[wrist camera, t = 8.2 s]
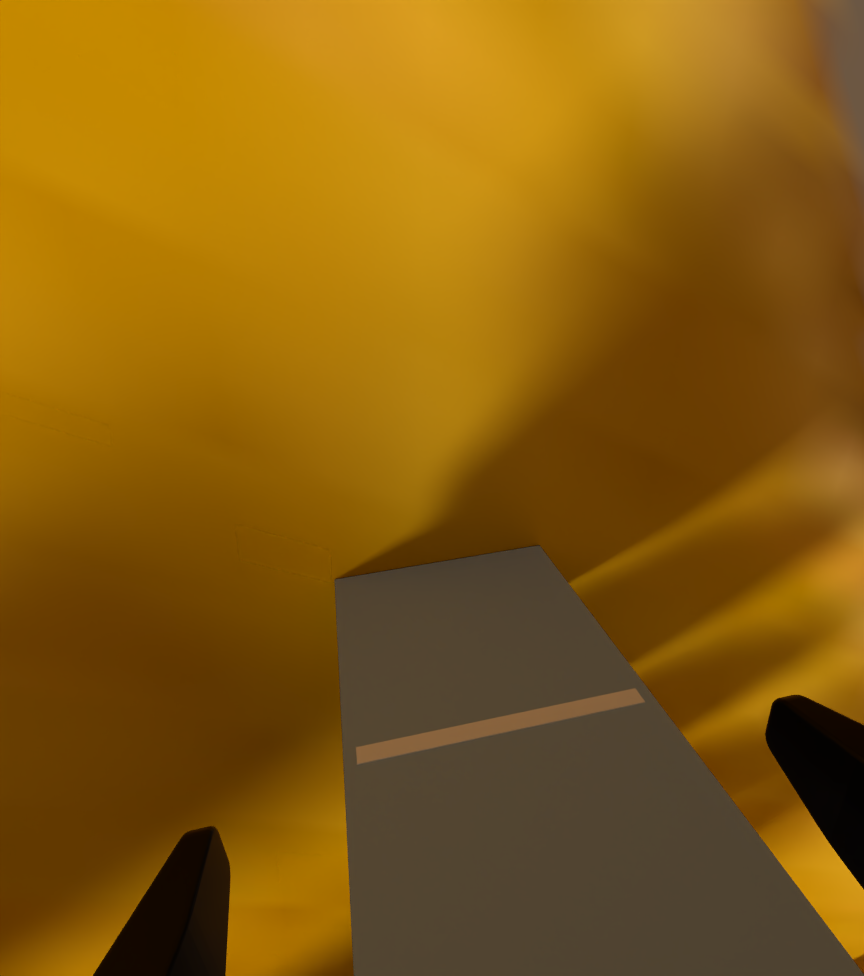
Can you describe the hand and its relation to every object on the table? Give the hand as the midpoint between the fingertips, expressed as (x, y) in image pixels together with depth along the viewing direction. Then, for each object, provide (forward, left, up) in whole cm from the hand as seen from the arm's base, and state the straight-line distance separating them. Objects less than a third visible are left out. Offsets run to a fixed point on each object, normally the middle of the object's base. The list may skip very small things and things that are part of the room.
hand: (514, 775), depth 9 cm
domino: (0, 0, -5) cm, 5 cm away
